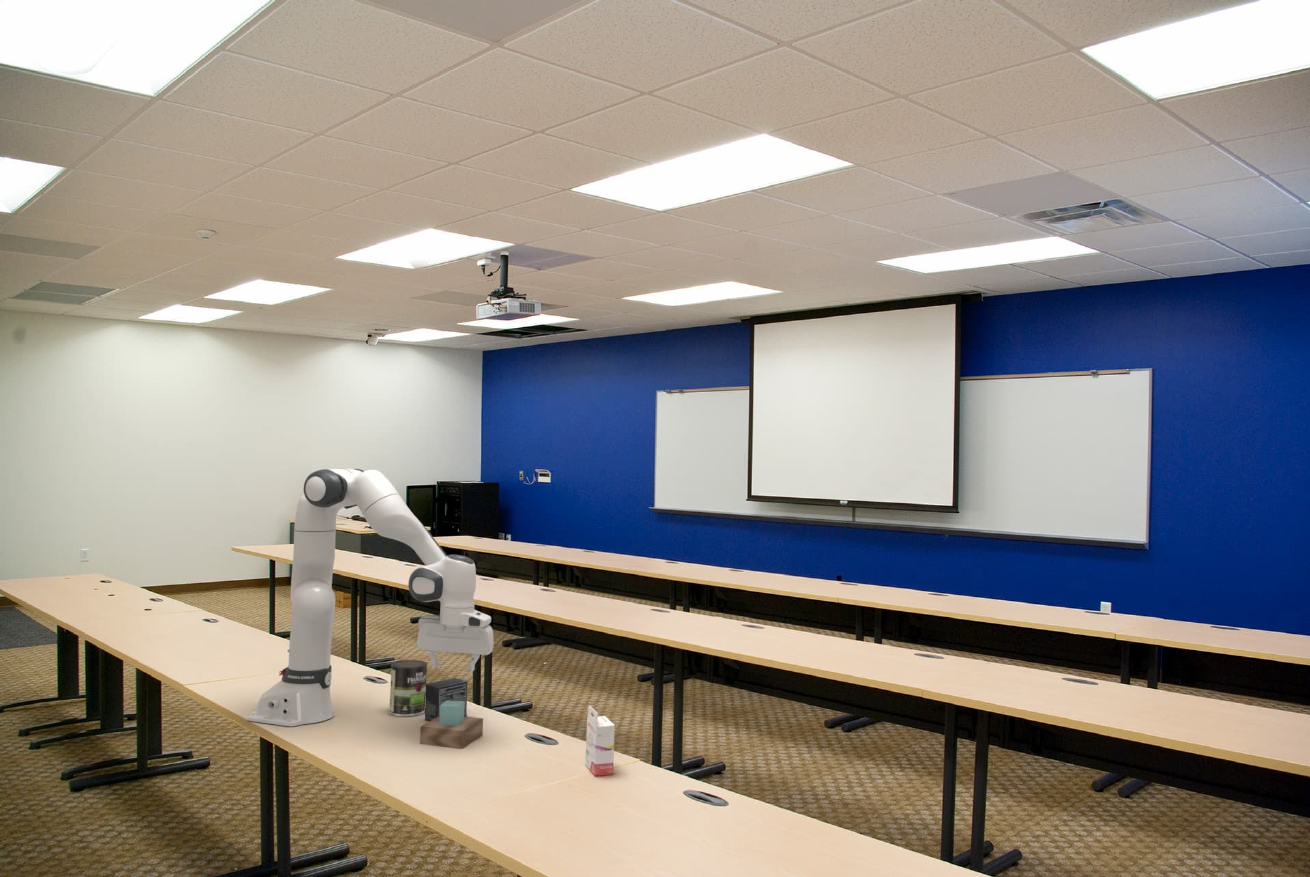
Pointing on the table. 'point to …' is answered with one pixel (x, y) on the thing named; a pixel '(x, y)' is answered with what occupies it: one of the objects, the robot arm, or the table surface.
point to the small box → (444, 696)
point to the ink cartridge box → (599, 744)
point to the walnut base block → (451, 733)
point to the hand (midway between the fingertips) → (453, 669)
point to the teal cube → (451, 713)
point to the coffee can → (408, 688)
